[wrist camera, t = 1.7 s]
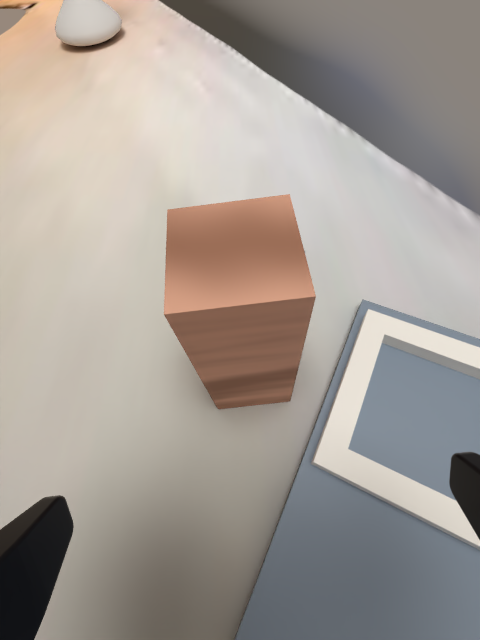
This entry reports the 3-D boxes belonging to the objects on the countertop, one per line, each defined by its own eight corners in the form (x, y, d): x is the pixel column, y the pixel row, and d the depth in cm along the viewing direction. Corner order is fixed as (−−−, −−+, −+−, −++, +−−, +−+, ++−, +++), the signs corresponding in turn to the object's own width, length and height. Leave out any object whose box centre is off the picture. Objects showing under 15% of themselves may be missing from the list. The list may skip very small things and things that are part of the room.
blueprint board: (698, 991, 11) (793, 1100, 9) (231, 646, 16) (226, 667, 14) (644, 405, 20) (685, 395, 18) (359, 306, 25) (367, 290, 23)
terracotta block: (290, 401, 21) (315, 296, 10) (218, 409, 22) (163, 314, 10) (278, 336, 24) (289, 194, 13) (214, 344, 24) (167, 209, 13)
